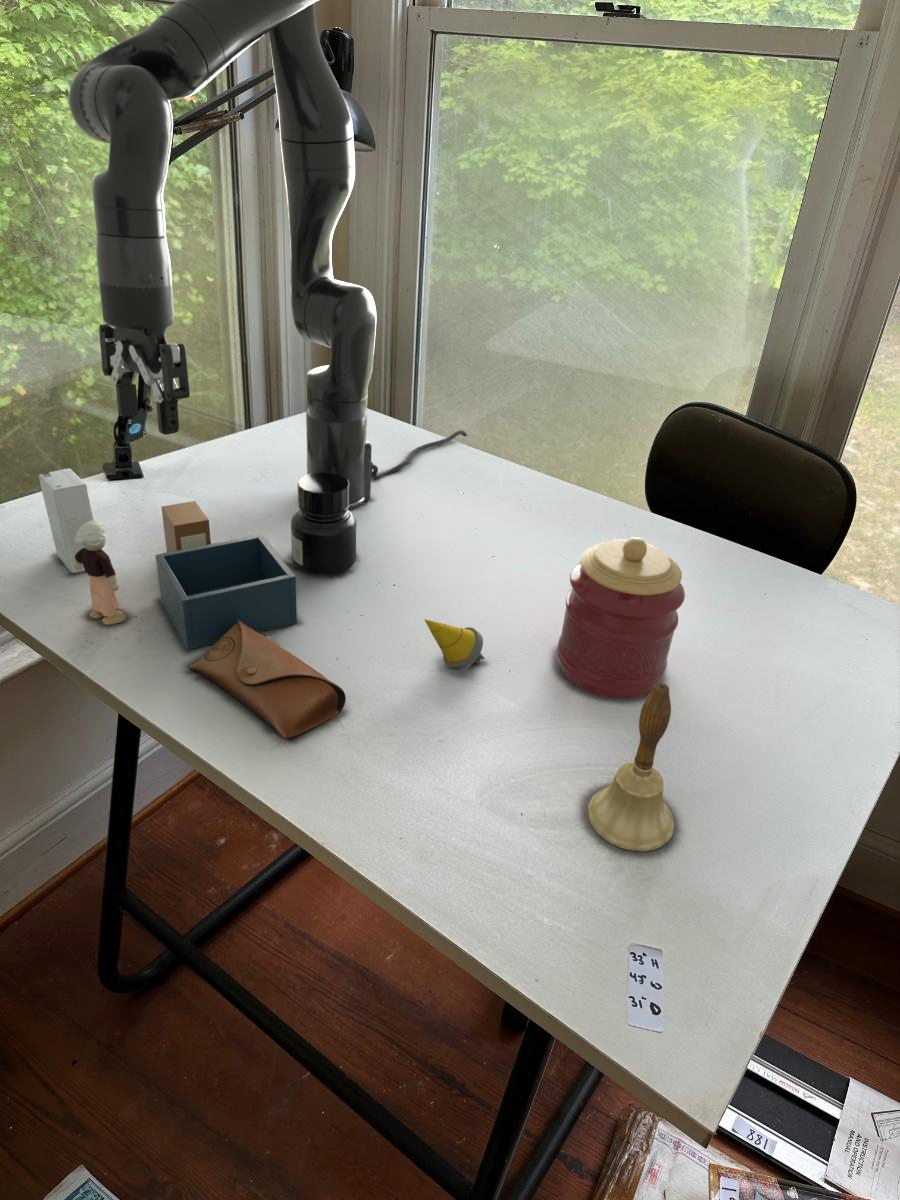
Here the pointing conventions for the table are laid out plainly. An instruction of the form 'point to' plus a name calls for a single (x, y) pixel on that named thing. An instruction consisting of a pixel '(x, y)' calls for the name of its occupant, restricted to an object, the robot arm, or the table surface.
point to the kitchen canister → (620, 618)
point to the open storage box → (226, 589)
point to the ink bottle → (323, 525)
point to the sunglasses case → (270, 681)
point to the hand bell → (638, 788)
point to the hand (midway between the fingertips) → (148, 424)
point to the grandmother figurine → (98, 572)
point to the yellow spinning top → (457, 644)
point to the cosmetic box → (66, 512)
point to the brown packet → (185, 526)
